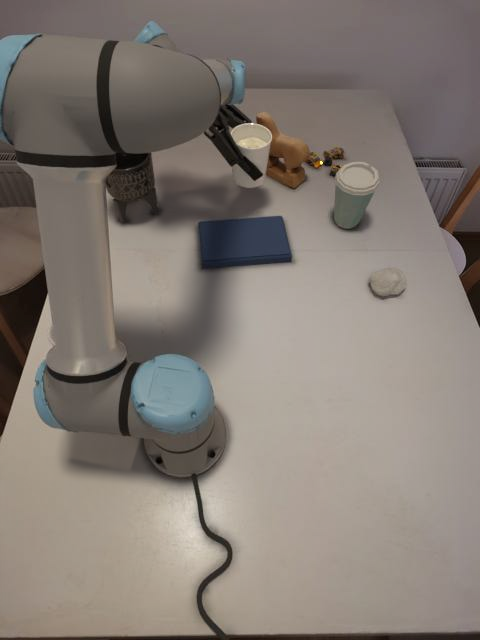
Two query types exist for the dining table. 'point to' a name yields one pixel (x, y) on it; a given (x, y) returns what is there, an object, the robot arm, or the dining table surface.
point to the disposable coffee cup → (353, 192)
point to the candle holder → (251, 151)
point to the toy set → (327, 159)
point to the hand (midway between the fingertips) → (262, 165)
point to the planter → (132, 182)
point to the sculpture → (284, 154)
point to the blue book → (243, 242)
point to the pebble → (388, 281)
